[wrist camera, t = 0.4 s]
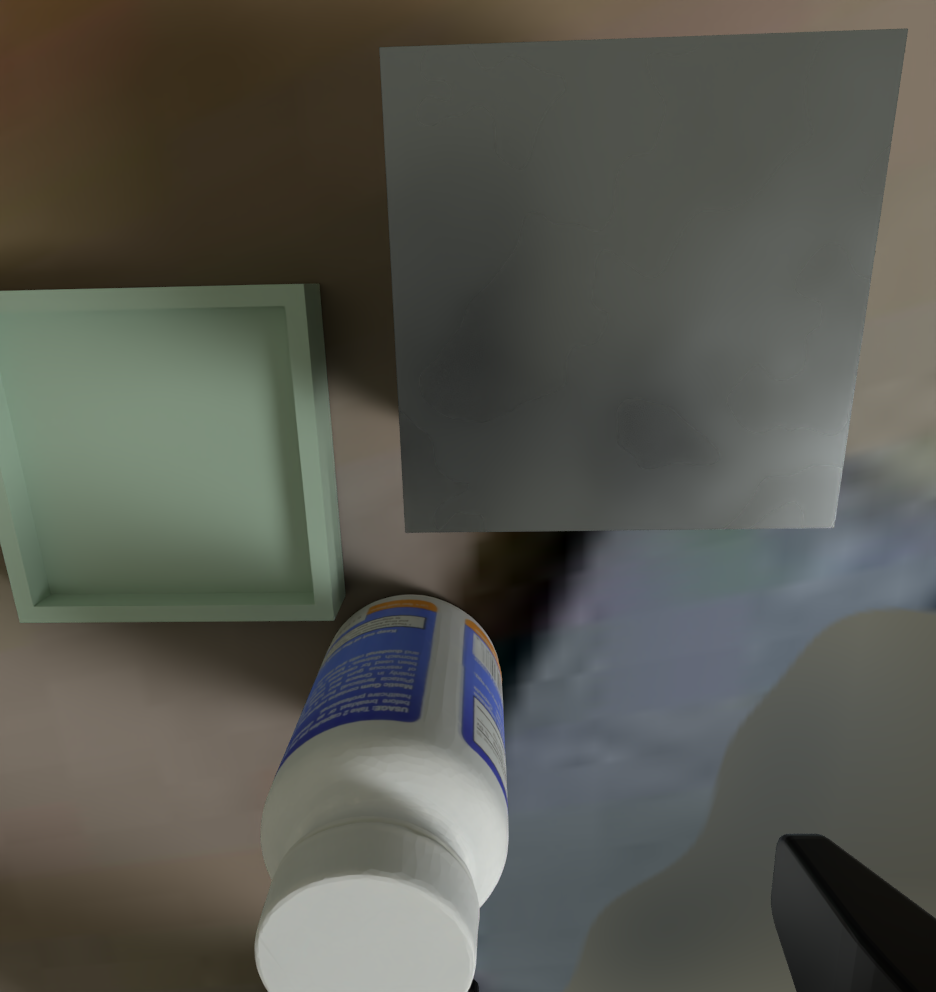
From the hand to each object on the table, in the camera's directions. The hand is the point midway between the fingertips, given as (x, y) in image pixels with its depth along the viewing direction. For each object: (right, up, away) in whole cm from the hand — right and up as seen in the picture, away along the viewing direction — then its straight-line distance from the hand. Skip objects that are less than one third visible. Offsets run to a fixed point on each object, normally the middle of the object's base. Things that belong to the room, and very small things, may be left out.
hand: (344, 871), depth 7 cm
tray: (-7, +5, +12) cm, 15 cm away
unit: (+4, +9, +11) cm, 15 cm away
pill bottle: (0, -1, +14) cm, 14 cm away
